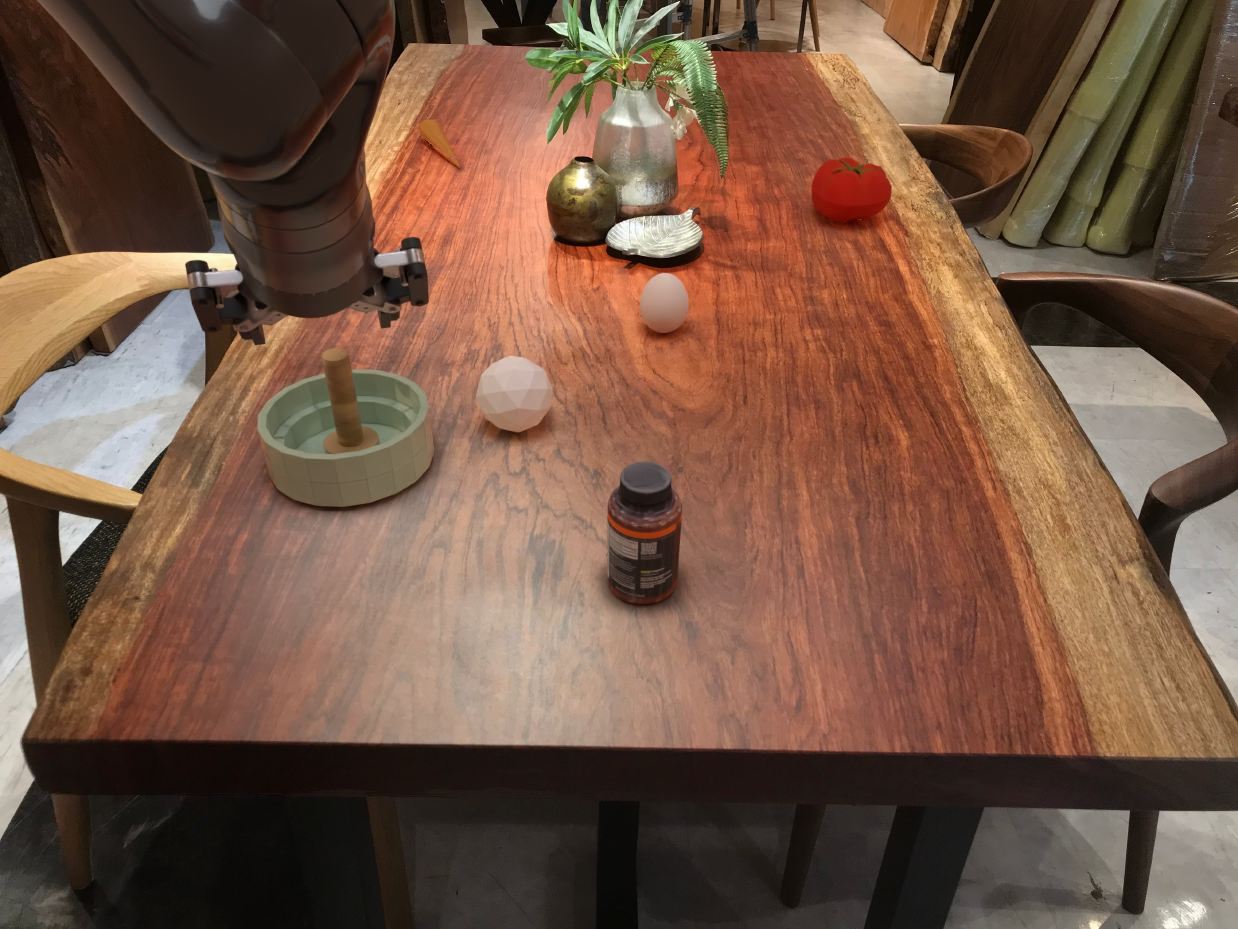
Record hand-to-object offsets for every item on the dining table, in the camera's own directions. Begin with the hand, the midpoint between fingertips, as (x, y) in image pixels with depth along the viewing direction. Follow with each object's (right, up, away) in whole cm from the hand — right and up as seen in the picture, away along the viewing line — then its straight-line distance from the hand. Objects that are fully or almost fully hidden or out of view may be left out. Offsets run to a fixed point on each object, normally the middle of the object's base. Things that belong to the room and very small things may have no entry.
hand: (321, 323), depth 63 cm
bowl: (-5, -10, +25) cm, 27 cm away
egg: (+27, +7, +49) cm, 56 cm away
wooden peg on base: (-5, -9, +24) cm, 27 cm away
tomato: (+58, +30, +82) cm, 105 cm away
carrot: (-12, +48, +104) cm, 115 cm away
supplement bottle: (+23, -20, +12) cm, 33 cm away
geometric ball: (+10, -6, +31) cm, 33 cm away
